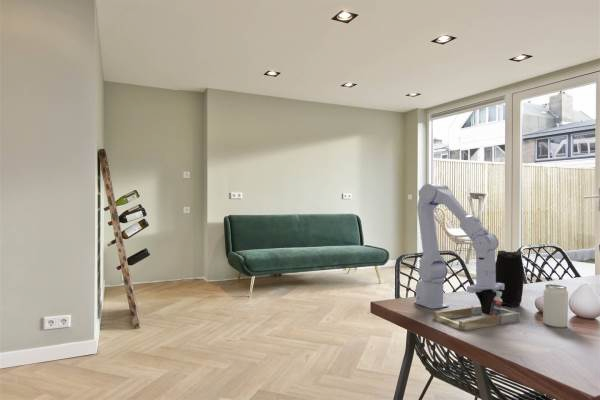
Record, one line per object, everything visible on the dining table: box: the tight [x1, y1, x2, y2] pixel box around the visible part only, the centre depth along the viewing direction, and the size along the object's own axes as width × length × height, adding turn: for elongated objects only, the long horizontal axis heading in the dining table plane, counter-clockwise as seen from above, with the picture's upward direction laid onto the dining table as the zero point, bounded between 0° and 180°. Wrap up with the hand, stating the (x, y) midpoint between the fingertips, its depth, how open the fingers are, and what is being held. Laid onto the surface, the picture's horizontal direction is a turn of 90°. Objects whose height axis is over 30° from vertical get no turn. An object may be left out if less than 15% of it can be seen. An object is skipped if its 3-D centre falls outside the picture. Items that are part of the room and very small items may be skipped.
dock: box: [470, 304, 520, 325], centre depth 134 cm, size 12×8×2 cm, turn 25°
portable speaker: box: [495, 250, 524, 309], centre depth 150 cm, size 9×9×20 cm
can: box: [542, 284, 569, 329], centre depth 127 cm, size 6×6×12 cm
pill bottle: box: [481, 290, 503, 317], centre depth 133 cm, size 5×5×9 cm
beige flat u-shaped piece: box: [433, 306, 500, 331], centre depth 129 cm, size 12×15×2 cm
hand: (486, 313), depth 131 cm, fingers closed, pressing on pill bottle
